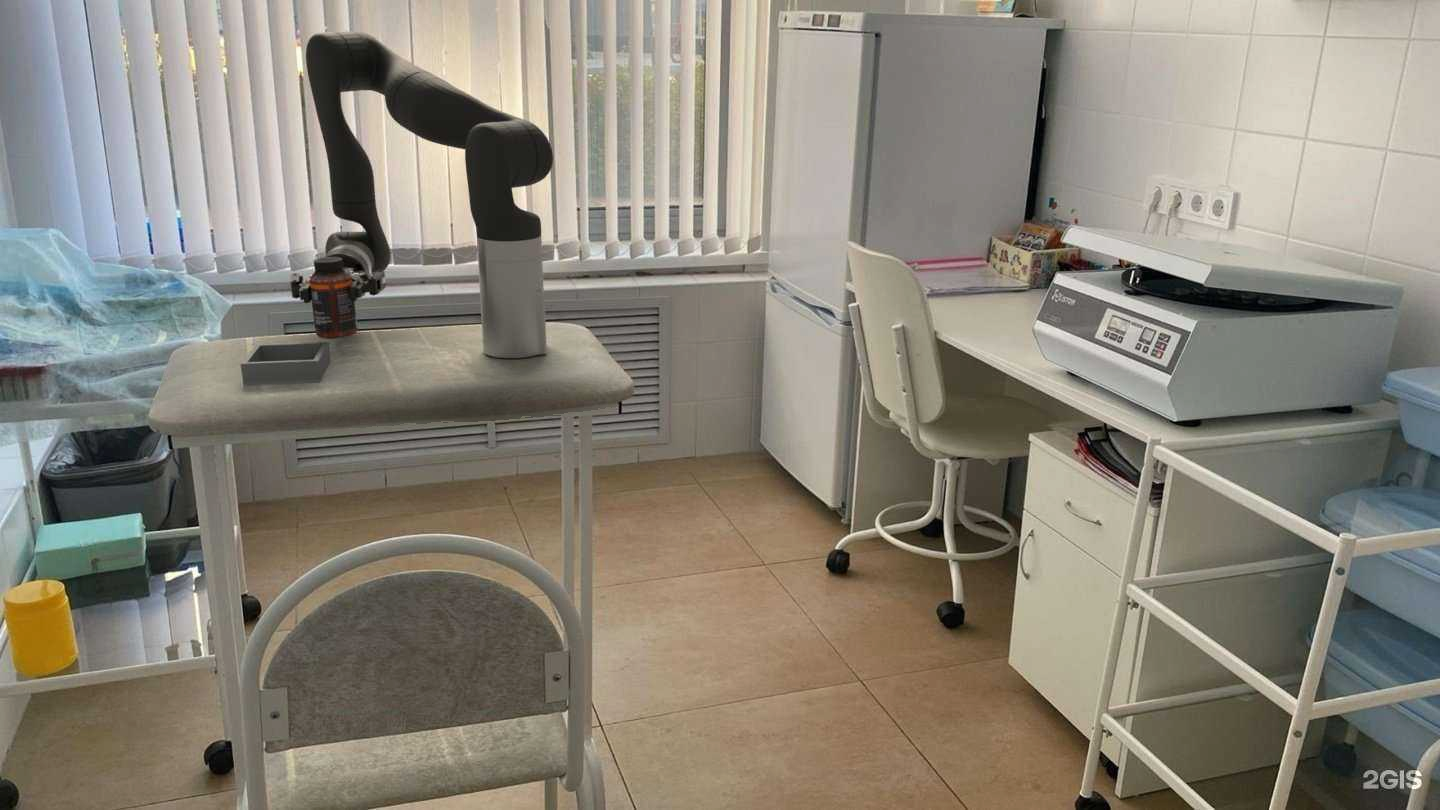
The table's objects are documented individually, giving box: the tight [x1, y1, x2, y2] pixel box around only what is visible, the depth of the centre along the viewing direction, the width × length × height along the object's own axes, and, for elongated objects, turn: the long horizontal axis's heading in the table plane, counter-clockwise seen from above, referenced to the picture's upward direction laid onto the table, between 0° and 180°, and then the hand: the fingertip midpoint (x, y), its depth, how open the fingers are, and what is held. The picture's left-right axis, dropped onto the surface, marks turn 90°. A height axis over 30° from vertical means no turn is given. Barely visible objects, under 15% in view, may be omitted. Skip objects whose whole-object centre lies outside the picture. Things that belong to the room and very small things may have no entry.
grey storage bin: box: [240, 341, 332, 386], centre depth 158 cm, size 10×10×3 cm
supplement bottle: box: [309, 256, 358, 340], centre depth 167 cm, size 6×6×11 cm
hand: (329, 295), depth 164 cm, fingers closed on supplement bottle, 6 cm apart
